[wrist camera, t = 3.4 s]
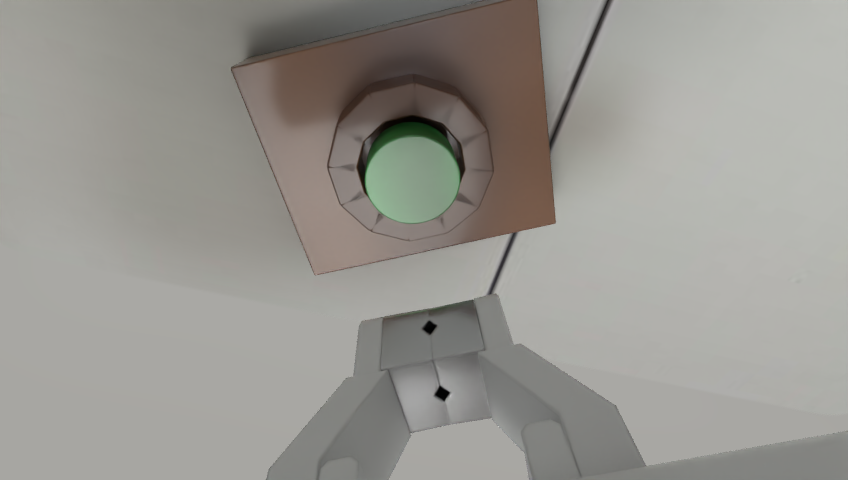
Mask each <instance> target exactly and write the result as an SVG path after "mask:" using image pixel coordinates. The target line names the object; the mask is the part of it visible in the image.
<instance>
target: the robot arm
mask: <svg viewBox="0 0 848 480" xmlns="http://www.w3.org/2000/svg"><path fill="white" fill-rule="evenodd" d="M488 418H492V420H493V421H494V422H495V423H496V424H497V425H498V426H499V427H500V428H501V429H502V430H503V431H504V433H505V434H506V435H507V436H508V437H509V438H510V439H511V440H512V441H513V442H514V443H515V444H516V445H517V446H518V447H519V448H520V449H521V450H522V451H523V452H524V454H525V459H526V465H527V471H528V477H529V480H848V431H844V432H838V433H833V434H827V435H821V436H816V437H809V438H804V439H798V440H792V441H787V442H781V443H775V444H770V445H764V446H758V447H752V448H747V449H741V450H735V451H729V452H724V453H719V454H713V455H707V456H701V457H695V458H690V459H684V460H678V461H672V462H667V463H661V464H656V465H650V466H646V465H645V463H644V461H643V459H642V457H641V455H640V453H639V451H638V449H637V447H636V445H635V443H634V441H633V439H632V437H631V435H630V433H629V431H628V429H627V427H626V425H625V423H624V421H623V419H622V417H621V415H620V413H619V411H618V409H617V407H616V405H614V404H612V403H611V402H609V401H608V400H606V399H605V398H603V397H602V396H600V395H599V394H597V393H596V392H594V391H593V390H591V389H589V388H588V387H586V386H585V385H583V384H582V383H580V382H579V381H577V380H576V379H574V378H573V377H571V376H569V375H568V374H567V373H565V372H563V371H562V370H560V369H559V368H557V367H556V366H554V365H553V364H551V363H550V362H548V361H547V360H545V359H544V358H542V357H540V356H539V355H537V354H536V353H534V352H533V351H531V350H530V349H528V348H527V347H525V346H524V345H522V344H516V345H514V344H513V341H512V338H511V335H510V331H509V328H508V325H507V322H506V319H505V315H504V312H503V309H502V306H501V303H500V299H499V296H498V295H497V294H492V295H487V296H483V297H479V298H474V300H469V301H464V302H459V303H454V304H449V305H445V306H440V307H435V308H430V309H423V310H418V311H412V312H407V313H401V314H396V315H390V316H385V317H380V318H375V319H370V320H365V321H362V322H361V323H360V325H359V330H358V339H357V349H356V357H355V365H354V375H353V377H349V378H346V379H345V380H344V381H343V383H342V384H341V385H340V386H339V387H338V389H337V390H336V391H335V392H334V393H333V394H332V396H331V397H330V398H329V399H328V401H326V403H325V404H324V405H323V406H322V407H321V408H320V410H319V411H318V412H317V413H316V415H315V416H314V417H313V418H312V419H311V420H310V421H309V423H308V424H307V425H306V426H305V427H304V428H303V430H302V431H301V432H300V433H299V434H298V436H297V437H296V438H295V439H294V440H293V442H292V443H291V444H290V445H289V446H288V447H287V449H286V450H285V451H284V452H283V453H282V454H281V456H280V457H279V458H278V459H277V460H276V461H275V463H274V464H273V465H272V466H271V467H270V468H269V471H268V475H267V479H266V480H388V479H389V478H390V476H391V473H392V472H393V470H394V468H395V466H396V464H397V462H398V460H399V458H400V456H401V454H402V452H403V450H404V448H405V446H406V444H407V442H408V441H409V438H410V436H411V435H410V433H414V432H418V431H423V430H427V429H432V428H437V427H441V426H446V425H450V424H457V423H463V422H469V421H475V420H482V419H488Z"/></svg>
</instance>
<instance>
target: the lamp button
mask: <svg viewBox="0 0 848 480" xmlns="http://www.w3.org/2000/svg"><path fill="white" fill-rule="evenodd" d="M365 188H366V192H367V195H368V197H369V199H370V201H371V203H372V204H373V205H374V207H375V208H376V209H377V210H378V211H379V212H380V213H382V214H383V215H384V216H386V217H388V218H389V219H392V220H394V221H397V222H400V223H406V224H418V223H424V222H427V221H430V220H433V219H435V218H437V217H438V216H440V215H441V214H443V213H444V212H445V211H446V210H447V209H448V208H449V207H450V206H451V205H452V203H453V202H454V200H455V199H456V196H457V194H458V191H459V188H460V170H459V166H458V163H457V160H456V157H455V154H454V151H453V149H452V146H451V144H450V143H449V141H448V140H447V138H446V137H445V136H444V135H443V134H442V133H441V132H440V131H438V130H437V129H435V128H434V127H432V126H429V125H427V124H424V123H419V122H404V123H399V124H396V125H394V126H391V127H389V128H388V129H386V130H384V131H383V132H382V133H381V134H380V135H379V136H378V137H377V138H376V139H375V141H374V142H373V143H372V145H371V147H370V150H369V153H368V157H367V163H366V170H365Z"/></svg>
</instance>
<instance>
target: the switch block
mask: <svg viewBox="0 0 848 480" xmlns="http://www.w3.org/2000/svg"><path fill="white" fill-rule="evenodd" d="M231 71H232V73H233V76H234V78H235V80H236V83H237V85H238V88H239V90H240V93H241V95H242V98H243V100H244V103H245V105H246V108H247V110H248V112H249V115H250V117H251V120H252V122H253V125H254V127H255V130H256V132H257V135H258V137H259V140H260V142H261V144H262V147H263V149H264V152H265V154H266V157H267V159H268V162H269V164H270V167H271V169H272V171H273V174H274V176H275V179H276V181H277V184H278V186H279V189H280V191H281V194H282V196H283V199H284V201H285V203H286V206H287V208H288V211H289V213H290V216H291V218H292V221H293V223H294V226H295V228H296V231H297V233H298V235H299V238H300V240H301V243H302V245H303V248H304V250H305V253H306V255H307V258H308V260H309V262H310V265H311V267H312V270H313V272H314V275H319V274H324V273H328V272H333V271H338V270H342V269H347V268H352V267H356V266H361V265H365V264H370V263H375V262H379V261H384V260H389V259H393V258H398V257H402V256H407V255H412V254H416V253H421V252H426V251H430V250H435V249H440V248H444V247H449V246H453V245H458V244H463V243H467V242H472V241H477V240H481V239H486V238H490V237H495V236H500V235H504V234H509V233H514V232H518V231H523V230H527V229H532V228H537V227H541V226H546V225H551V224H555V223H556V219H555V207H554V196H553V184H552V172H551V160H550V148H549V136H548V124H547V112H546V100H545V89H544V77H543V65H542V53H541V41H540V29H539V17H538V5H537V0H484V1H479V2H475V3H471V4H467V5H463V6H459V7H455V8H451V9H447V10H443V11H439V12H435V13H431V14H426V15H422V16H418V17H414V18H410V19H406V20H402V21H398V22H394V23H390V24H386V25H382V26H378V27H373V28H369V29H365V30H361V31H357V32H353V33H349V34H345V35H341V36H337V37H333V38H329V39H325V40H320V41H316V42H312V43H308V44H304V45H300V46H296V47H292V48H288V49H284V50H280V51H276V52H272V53H267V54H263V55H259V56H255V57H251V58H247V59H245V60H243V61H242V62H240V63H238V64H236V65H235V66H233V67H231ZM404 122H419V123H424V124H427V125H429V126H432V127H434V128H435V129H437V130H438V131H440V132H441V133H442V134H443V135H444V136H445V137H446V138H447V140H448V141H449V143H450V144H451V146H452V149H453V151H454V154H455V157H456V160H457V163H458V166H459V170H460V188H459V191H458V194H457V196H456V199H455V200H454V202H453V203H452V205H451V206H450V207H449V208H448V209H447V210H446V211H445V212H444V213H443V214H441V215H440V216H438V217H437V218H435V219H433V220H430V221H427V222H424V223H418V224H406V223H400V222H397V221H394V220H392V219H389V218H388V217H386V216H384V215H383V214H382V213H380V212H379V211H378V210H377V209H376V208H375V207H374V205H373V204H372V203H371V201H370V199H369V197H368V195H367V192H366V188H365V170H366V163H367V157H368V153H369V150H370V147H371V145H372V143H373V142H374V141H375V139H376V138H377V137H378V136H379V135H380V134H381V133H382V132H383V131H384V130H386V129H388V128H389V127H391V126H394V125H396V124H399V123H404Z"/></svg>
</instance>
